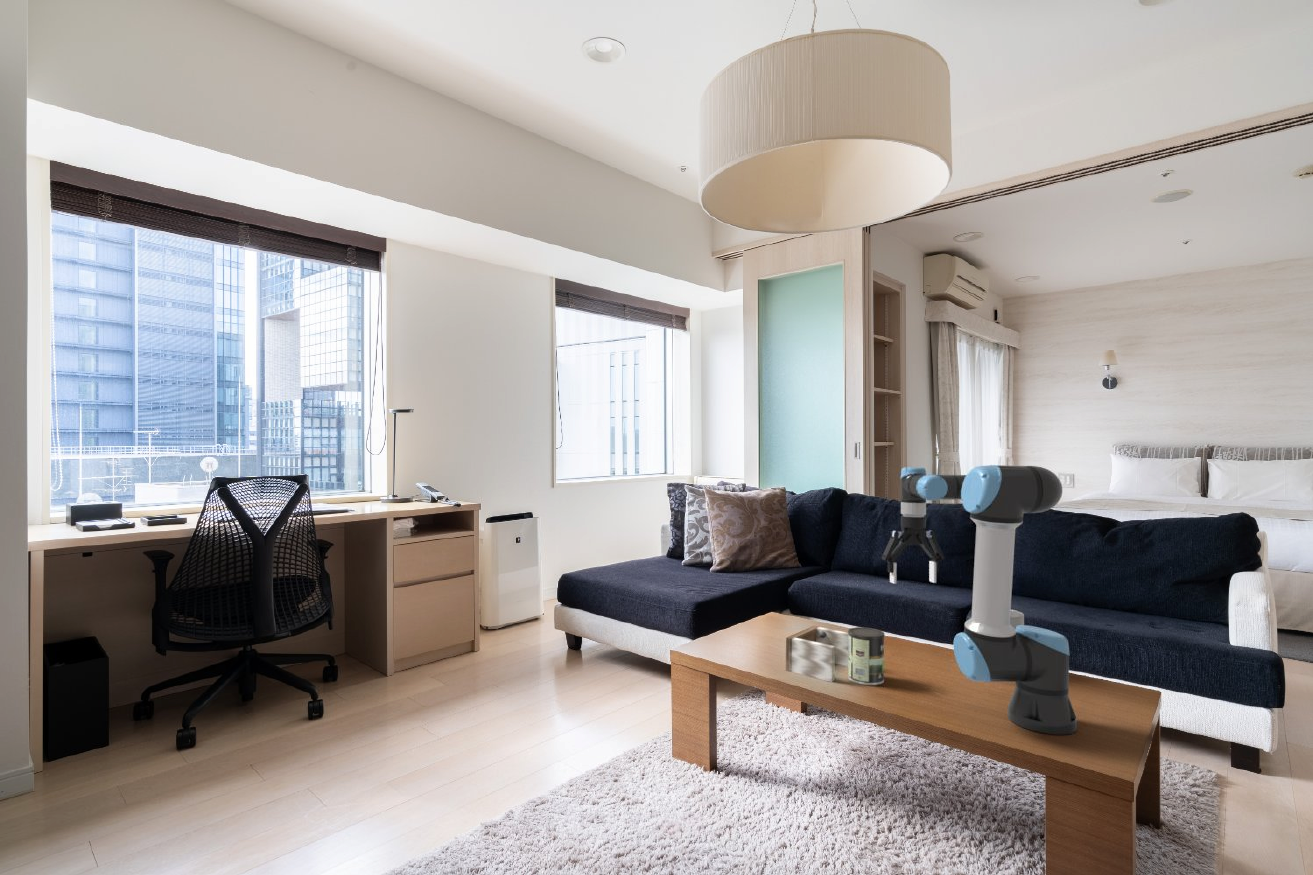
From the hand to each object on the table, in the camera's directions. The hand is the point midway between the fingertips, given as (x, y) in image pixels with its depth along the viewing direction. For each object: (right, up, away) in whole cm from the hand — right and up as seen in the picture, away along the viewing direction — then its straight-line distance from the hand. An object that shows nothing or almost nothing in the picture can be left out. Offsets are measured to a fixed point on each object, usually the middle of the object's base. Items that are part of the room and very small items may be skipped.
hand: (913, 582), depth 213 cm
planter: (+25, -26, -5) cm, 37 cm away
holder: (-30, -25, -7) cm, 40 cm away
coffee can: (-20, -26, -15) cm, 36 cm away
